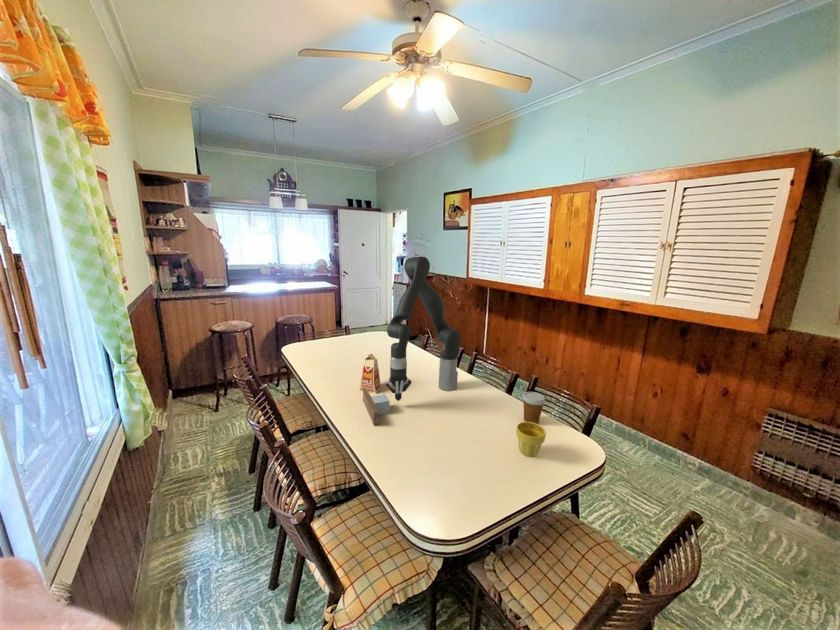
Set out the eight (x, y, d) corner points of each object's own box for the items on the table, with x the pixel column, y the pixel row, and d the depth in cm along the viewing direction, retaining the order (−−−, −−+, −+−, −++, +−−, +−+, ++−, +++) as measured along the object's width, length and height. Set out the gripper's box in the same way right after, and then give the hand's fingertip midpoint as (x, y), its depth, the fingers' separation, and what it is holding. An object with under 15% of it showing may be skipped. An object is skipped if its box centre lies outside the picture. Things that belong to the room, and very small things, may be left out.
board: (366, 399, 160) (366, 388, 159) (378, 425, 138) (378, 412, 137) (362, 399, 159) (362, 388, 158) (373, 425, 137) (373, 413, 136)
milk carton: (375, 393, 166) (375, 356, 162) (358, 391, 168) (358, 355, 163) (381, 386, 175) (381, 351, 170) (365, 384, 177) (364, 349, 172)
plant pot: (527, 463, 117) (530, 439, 115) (508, 446, 126) (511, 424, 124) (548, 456, 121) (552, 433, 119) (529, 441, 130) (532, 419, 128)
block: (385, 405, 155) (385, 394, 153) (389, 412, 148) (389, 400, 147) (370, 408, 152) (370, 396, 151) (374, 415, 146) (374, 403, 145)
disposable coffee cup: (515, 417, 148) (518, 393, 145) (532, 413, 152) (534, 389, 149) (530, 428, 140) (533, 402, 137) (547, 424, 143) (550, 399, 141)
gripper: (409, 361, 155) (409, 394, 159) (382, 364, 150) (382, 398, 154) (414, 366, 148) (414, 401, 152) (386, 370, 143) (386, 405, 147)
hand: (398, 399), depth 153 cm, fingers closed
